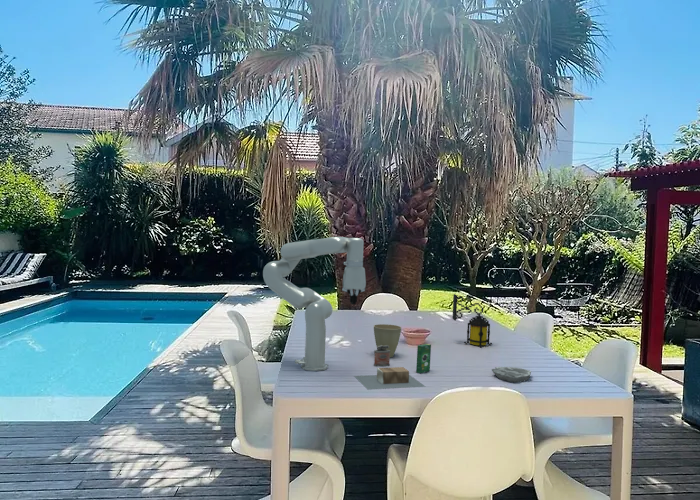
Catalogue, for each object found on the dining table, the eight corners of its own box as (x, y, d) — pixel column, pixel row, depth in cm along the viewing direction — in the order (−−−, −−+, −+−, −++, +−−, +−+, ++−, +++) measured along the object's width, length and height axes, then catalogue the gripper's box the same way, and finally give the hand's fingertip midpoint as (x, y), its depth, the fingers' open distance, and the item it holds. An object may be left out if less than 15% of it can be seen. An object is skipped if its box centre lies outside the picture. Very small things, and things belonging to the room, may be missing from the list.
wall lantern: (495, 348, 304) (497, 298, 303) (454, 347, 304) (457, 296, 303) (488, 342, 320) (490, 294, 319) (449, 341, 321) (452, 293, 320)
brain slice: (501, 370, 255) (501, 364, 255) (535, 377, 244) (536, 371, 244) (484, 378, 240) (484, 371, 240) (520, 386, 229) (520, 379, 229)
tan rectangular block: (382, 372, 220) (409, 371, 224) (377, 368, 227) (403, 367, 230) (381, 383, 220) (408, 382, 224) (376, 379, 227) (402, 378, 231)
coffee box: (425, 369, 250) (426, 342, 249) (430, 371, 248) (431, 344, 247) (415, 372, 244) (416, 345, 243) (420, 373, 242) (421, 346, 241)
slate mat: (367, 391, 212) (367, 389, 212) (353, 377, 231) (353, 376, 231) (425, 388, 219) (425, 386, 219) (407, 375, 238) (407, 373, 238)
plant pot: (398, 360, 266) (400, 330, 265) (370, 358, 269) (371, 327, 268) (401, 354, 280) (402, 325, 280) (374, 351, 283) (375, 323, 283)
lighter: (375, 366, 252) (375, 346, 252) (372, 364, 255) (373, 344, 255) (390, 366, 254) (391, 346, 254) (388, 364, 258) (389, 344, 257)
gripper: (341, 264, 233) (339, 305, 233) (372, 265, 237) (370, 305, 237) (337, 263, 240) (335, 302, 240) (367, 264, 244) (365, 302, 245)
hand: (353, 303), depth 239 cm, fingers closed
